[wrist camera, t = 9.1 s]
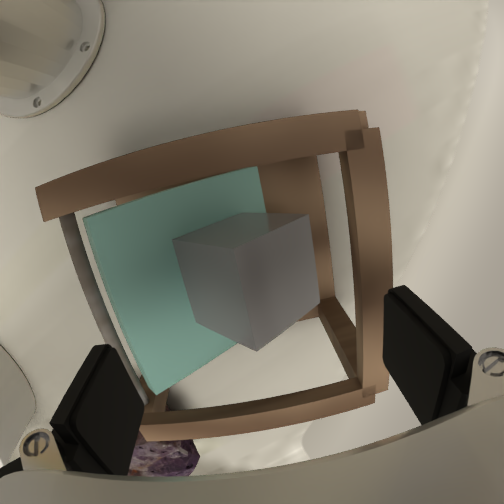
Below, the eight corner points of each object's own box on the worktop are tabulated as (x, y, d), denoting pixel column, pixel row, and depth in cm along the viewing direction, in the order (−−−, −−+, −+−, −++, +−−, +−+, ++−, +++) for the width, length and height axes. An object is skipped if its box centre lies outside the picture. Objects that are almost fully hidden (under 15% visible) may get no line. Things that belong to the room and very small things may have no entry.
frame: (111, 171, 21) (22, 192, 10) (309, 126, 21) (375, 108, 10) (164, 341, 25) (135, 441, 15) (334, 308, 25) (386, 398, 15)
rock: (179, 437, 31) (206, 385, 28) (184, 500, 24) (217, 458, 21) (80, 414, 27) (87, 354, 25) (69, 477, 20) (67, 427, 17)
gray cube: (171, 239, 16) (233, 248, 12) (241, 212, 19) (308, 213, 15) (196, 322, 18) (256, 351, 14) (257, 286, 21) (320, 302, 17)
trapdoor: (82, 218, 14) (86, 218, 13) (246, 167, 20) (257, 166, 20) (148, 387, 17) (156, 395, 16) (273, 307, 24) (283, 310, 23)
